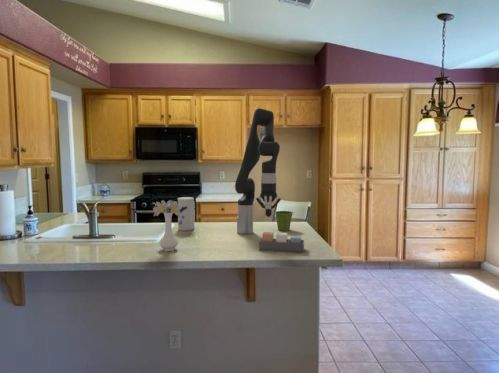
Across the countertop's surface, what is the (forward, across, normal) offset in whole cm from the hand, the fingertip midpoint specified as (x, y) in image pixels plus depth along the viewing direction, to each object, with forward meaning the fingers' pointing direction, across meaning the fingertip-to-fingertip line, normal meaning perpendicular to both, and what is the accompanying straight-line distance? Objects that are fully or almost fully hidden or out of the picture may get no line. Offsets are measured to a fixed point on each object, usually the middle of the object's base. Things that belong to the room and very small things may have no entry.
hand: (268, 216), depth 181 cm
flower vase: (+17, +49, +11) cm, 53 cm away
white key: (+13, -7, 0) cm, 15 cm away
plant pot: (+17, -3, -46) cm, 49 cm away
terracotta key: (+13, 0, 0) cm, 13 cm away
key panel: (+17, -7, 0) cm, 18 cm away
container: (+17, +58, -36) cm, 70 cm away
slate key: (+14, -14, 0) cm, 20 cm away
